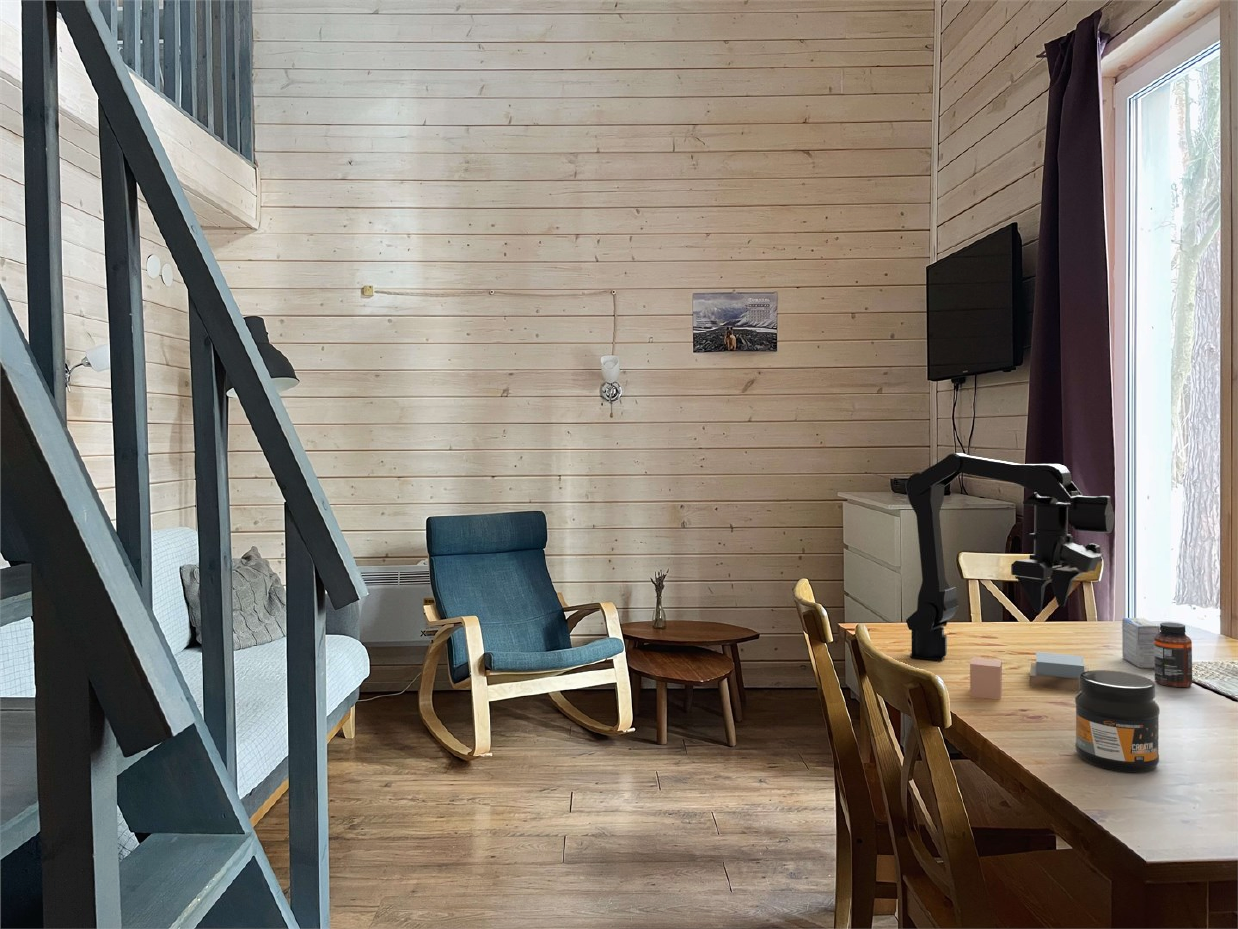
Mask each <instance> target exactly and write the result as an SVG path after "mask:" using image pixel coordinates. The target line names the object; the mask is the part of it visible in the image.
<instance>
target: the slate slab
mask: <svg viewBox="0 0 1238 929" xmlns="http://www.w3.org/2000/svg"><path fill="white" fill-rule="evenodd" d="M1035 663H1036V675H1044V676H1055V677H1065V678H1075V679H1079V675H1080V674H1081V673H1083V672H1084V668H1085V663H1084V658H1083V655H1076V654H1063V653H1054V652H1053V653H1051V652H1041V651H1035Z"/></svg>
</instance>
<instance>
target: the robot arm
mask: <svg viewBox="0 0 1238 929" xmlns="http://www.w3.org/2000/svg"><path fill="white" fill-rule="evenodd" d="M961 474H965V475H970V476H975V477H982V478H985V479H986V478H987V479H992V480H997V481H998V480H999V481H1002V482H1007V483H1008V482H1009V483H1013V484H1015V485H1019V487H1020V486H1021V487H1022V488H1025V489H1027V490H1030V491H1032V493H1031V494H1030V495H1029V496H1028V497H1027V498H1026V499H1025V500H1023V501H1022V504H1023V505H1024V506H1025V505H1026V506H1034V519H1033V521H1034V527H1033V528H1034V530H1033V531H1034V532H1033V533H1029V540H1033V553H1032V554H1029V558H1023V559H1018V560H1017V559H1016V560H1015V561H1013V562H1012V563H1011V565H1010V568H1011V569H1010V575H1011V576H1014V578H1015V580H1017V581H1018V582H1019V584H1020V586H1021V588H1022V589H1023V591H1024V594H1025V595H1026V597H1027V599H1028V601H1029V603H1030V605H1031V607H1032V609H1033V610H1034V613H1039V614H1040V613H1041V612H1042V609H1043V605H1044V597H1045V592H1046V591H1045V589H1046V586H1047V585H1048V584H1049V583H1050V582H1051V587H1052V589H1053V593H1054V597H1055V600H1056V603H1057V605H1058V606H1059V607H1065V606H1066V603H1067V600H1068V597H1069V594H1070V591H1071V588H1072V586H1073V583H1074V581H1075V579H1077V578H1078V577H1080V575H1083V574H1084V573H1089V572H1091V571H1093V572H1094V571H1096V569H1097V566H1098V564H1099V563H1102V562H1103V554H1102V551H1101V546H1100V545H1098V544H1096V543H1094V542H1093V543H1088V544H1086V545H1085V546H1084V545H1082V544H1081V545H1079V544H1077V543H1075V542H1074V536H1073V535H1072V534H1070V533H1069V534H1068V527H1069V526H1070V527H1073V529H1074V531H1077V532H1089V533H1091V532H1092V533H1103V534H1111V533H1112V531H1113V529H1114V525H1115V512H1114V510H1113V509H1114V508H1113V505H1112V503H1111V496H1109V495H1100V496H1085V495H1083V493H1082V492H1081V491H1080V489H1079V488H1078V487H1077V485H1075V483H1074V482H1073V481H1072V474H1071V471H1070V470H1069V469H1068V467H1067V466H1065V465H1062V464H1060V463H1026V464H1025V463H1017V462H1016V463H1015V462H1010V461H1004V460H998V459H993V458H986V457H980V456H975V455H968V454H966V453H963V452H959V453H958V452H956V453H950V454H948V455H947V456H945V458H942V460H940V461H939V462H936V463H935V464H933V465H932V466H929V467H927V468H926V469H924V470H923V471H921V472H916V473H915V472H914V473H913V474H912V475H910V476H909V477H908V479H906V481H905V491H906V494H907V498H908V502H909V505H910V507H911V508H912V510H913V512H914V513H915V514H914V515H915V516H916V526H917V528H916V529H917V538H918V546H919V558H920V559H919V560H920V569H921V570H920V571H921V579H922V580H921V584H920V586H919V587H920V588H919V592H918V593H917V594H918V595H917V605H916V611H914V612H913V613H912V614H911V615H910V616H909V617H907V618H906V619H905V622H906V625H907V628H908V630H909V631H911V633H910V634H911V639H910V640H911V653H910V655H909V658H911V657H912V658H911V659H918V660H919V659H921V660H928V661H929V660H931V661H940V662H942V661H943V660H944V659H945V658H944V657H946V656H947V655H948V648H947V647H948V645H947V644H948V637H947V636H948V635H947V634H945V627H947V625H948V622H949V620H950V619H952V618H953V616H955V614H956V612H957V608H958V607H959V606H960V604H959V602H958V598H957V597H958V596H957V595H958V594H957V593H958V589H957V587H955V586H954V587H951V586H950V585H949V584H948V581H947V579H946V572H945V560H944V551H943V542H942V541H943V539H942V529H941V518H940V516H941V515H940V512H941V510H942V509H941V508H942V506H943V502H944V499H945V498H944V497H945V487H947V486H948V485H949V484H950V483H952V482H953V481H955V479H957V477H959V475H961ZM1040 494H1041V495H1047V496H1041V495H1040ZM1049 495H1050V496H1049ZM1068 525H1069V526H1068Z"/></svg>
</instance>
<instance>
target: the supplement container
mask: <svg viewBox="0 0 1238 929" xmlns="http://www.w3.org/2000/svg"><path fill="white" fill-rule="evenodd" d="M1079 689H1080V690H1081V691H1078V693H1077V694H1076V695H1075V696H1074V703H1075V743H1074V744H1075V751H1076V753H1077V755H1078V756H1079V757H1080V758H1081V759H1083V760H1084V761H1086V762H1087V763H1089V764H1091V765H1093V766H1096V767H1099V768H1102V769H1105V770H1110V771H1114V772H1115V771H1116V772H1123V773H1124V772H1125V773H1143V772H1149V771H1151V770H1153V769H1155V768H1156V767H1157V766H1158V765H1159V762H1160V754H1159V742H1160V741H1159V730H1160V728H1159V727H1160V726H1159V722H1160V720H1159V718H1160V713H1161V711H1160V710H1161V708H1160V705H1159V704H1158V703H1157V702H1156V701H1155V700H1154V699H1156V684H1155V682H1154V681H1153V680H1152V679H1150V678H1148V677H1145V676H1143V675H1139V674H1136V673H1130V672H1124V671H1118V670H1116V671H1115V670H1103V669H1101V670H1097V669H1096V670H1094V669H1093V670H1089V671H1086V672H1083V673H1081V674H1080V675H1079Z"/></svg>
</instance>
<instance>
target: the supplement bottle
mask: <svg viewBox="0 0 1238 929" xmlns="http://www.w3.org/2000/svg"><path fill="white" fill-rule="evenodd" d="M1159 626H1160V633H1159V634H1157V635H1156V636H1155V638H1154V658H1155V668H1154V681H1155V682H1156V683H1157V684H1160V685H1162V686H1165V687H1166V686H1167V687H1172V688H1188V687H1191V686H1192V684H1193V645H1192V644H1193V641H1192V639H1191V638H1190V636H1188V635H1187V634H1186V625H1185V624H1183V623H1180V622H1169V621H1168V622H1167V621H1166V622H1161V623H1159Z"/></svg>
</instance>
